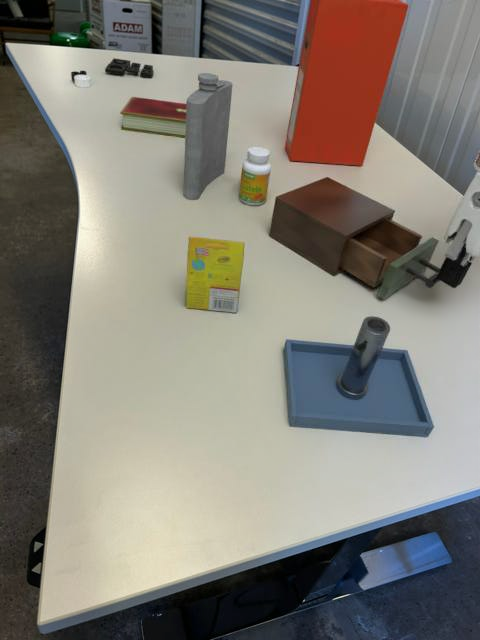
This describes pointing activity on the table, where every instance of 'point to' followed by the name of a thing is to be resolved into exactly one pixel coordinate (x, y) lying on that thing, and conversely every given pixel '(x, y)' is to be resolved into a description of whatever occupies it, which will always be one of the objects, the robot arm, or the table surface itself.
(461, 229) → the robot arm
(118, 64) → the black white parts set
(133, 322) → the table surface
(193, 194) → the hip flask
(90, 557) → the table surface
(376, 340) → the grey rod with base
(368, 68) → the file binder
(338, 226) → the cabinet
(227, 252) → the crayon box
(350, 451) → the table surface
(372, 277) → the drawer
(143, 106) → the hardcover book
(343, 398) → the tray
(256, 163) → the supplement bottle
